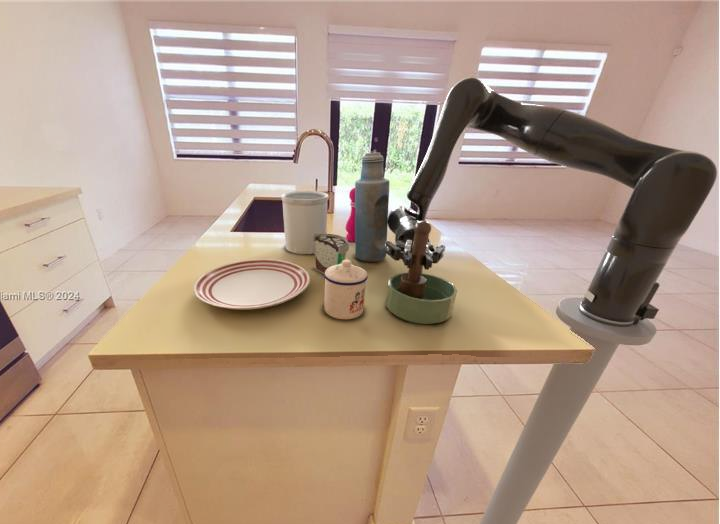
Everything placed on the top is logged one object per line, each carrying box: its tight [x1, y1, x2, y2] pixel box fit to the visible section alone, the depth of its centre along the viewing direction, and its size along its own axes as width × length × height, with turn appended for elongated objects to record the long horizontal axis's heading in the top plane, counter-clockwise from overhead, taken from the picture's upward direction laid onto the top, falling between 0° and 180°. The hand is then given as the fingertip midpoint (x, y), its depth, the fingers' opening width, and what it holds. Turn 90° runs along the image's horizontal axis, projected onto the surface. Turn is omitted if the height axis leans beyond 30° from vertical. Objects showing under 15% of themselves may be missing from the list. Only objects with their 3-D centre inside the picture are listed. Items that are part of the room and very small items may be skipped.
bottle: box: [354, 152, 390, 262], centre depth 92 cm, size 10×10×30 cm
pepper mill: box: [345, 187, 355, 243], centre depth 111 cm, size 7×7×20 cm
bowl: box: [385, 272, 458, 325], centre depth 69 cm, size 14×14×6 cm
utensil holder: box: [281, 190, 330, 255], centre depth 102 cm, size 15×15×18 cm
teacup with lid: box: [323, 259, 368, 320], centre depth 68 cm, size 12×9×12 cm
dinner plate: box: [193, 258, 311, 310], centre depth 77 cm, size 28×27×3 cm
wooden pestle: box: [399, 220, 432, 299], centre depth 66 cm, size 5×5×18 cm
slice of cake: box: [313, 233, 350, 275], centre depth 86 cm, size 12×6×10 cm, turn 35°
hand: (419, 264), depth 63 cm, fingers closed on wooden pestle, 3 cm apart
